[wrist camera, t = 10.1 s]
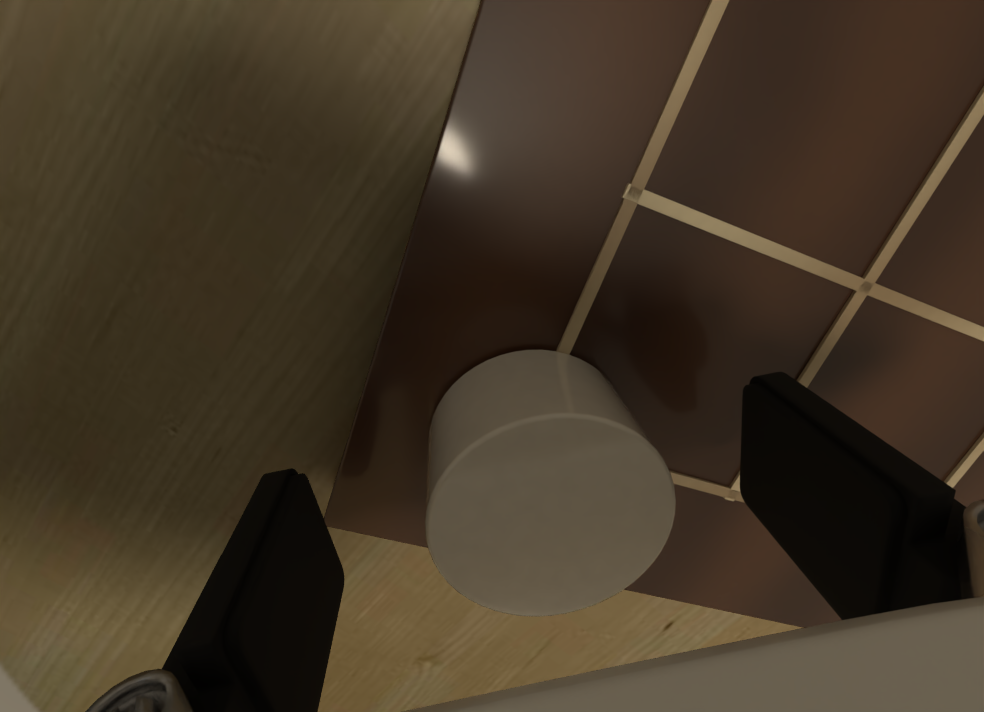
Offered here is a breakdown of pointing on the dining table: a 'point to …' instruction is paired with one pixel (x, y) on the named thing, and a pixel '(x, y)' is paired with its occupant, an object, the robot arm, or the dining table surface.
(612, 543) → the beige round puck
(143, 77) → the dining table surface
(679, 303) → the board
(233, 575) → the robot arm
